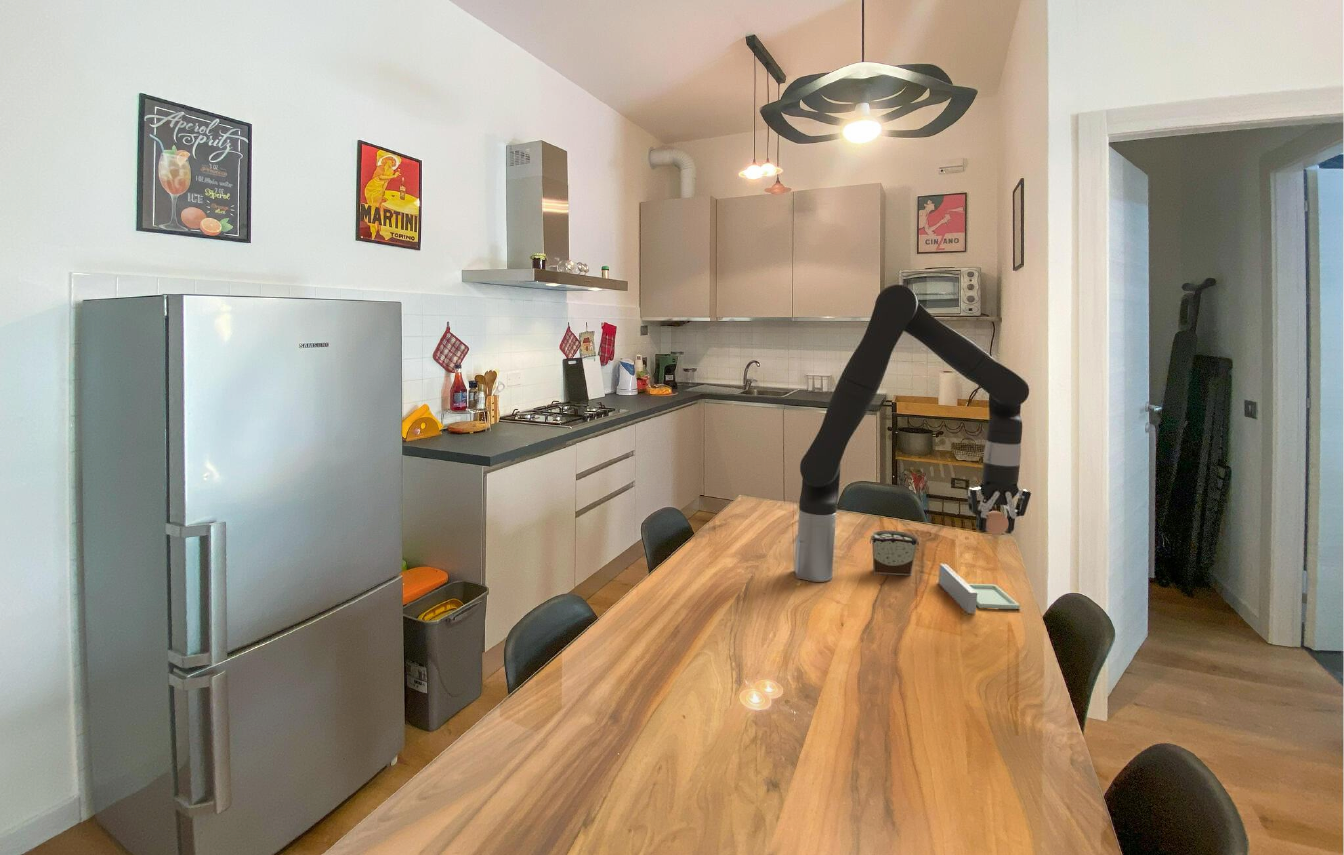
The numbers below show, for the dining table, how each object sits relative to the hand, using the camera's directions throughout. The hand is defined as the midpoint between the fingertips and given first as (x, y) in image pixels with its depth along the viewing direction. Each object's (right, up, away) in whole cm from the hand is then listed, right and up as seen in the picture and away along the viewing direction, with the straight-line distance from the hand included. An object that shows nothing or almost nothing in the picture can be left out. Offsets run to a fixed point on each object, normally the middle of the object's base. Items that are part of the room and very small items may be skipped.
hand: (994, 532), depth 152 cm
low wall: (-8, -16, +3) cm, 18 cm away
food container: (-18, -13, +20) cm, 30 cm away
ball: (0, 0, 0) cm, 1 cm away
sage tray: (0, -16, +3) cm, 16 cm away
